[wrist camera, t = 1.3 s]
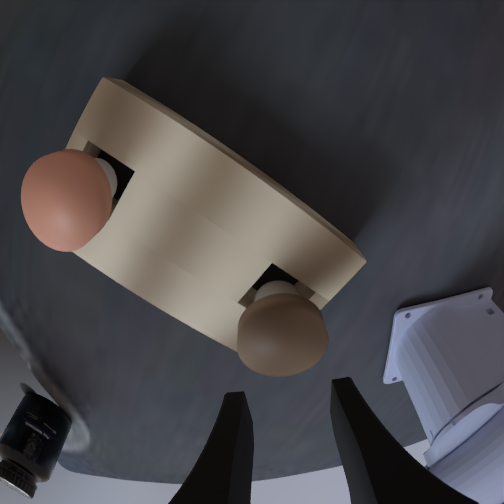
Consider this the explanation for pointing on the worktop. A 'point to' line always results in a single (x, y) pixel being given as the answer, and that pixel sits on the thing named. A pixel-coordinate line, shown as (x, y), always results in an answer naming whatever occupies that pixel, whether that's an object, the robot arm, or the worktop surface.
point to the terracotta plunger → (68, 198)
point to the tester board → (200, 218)
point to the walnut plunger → (281, 331)
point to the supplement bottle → (32, 443)
